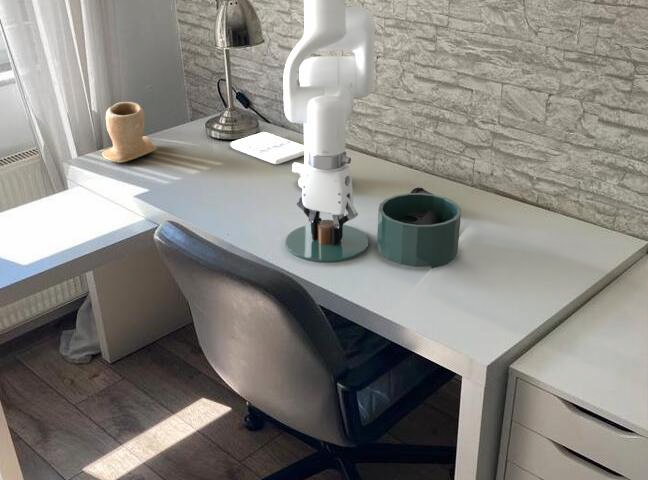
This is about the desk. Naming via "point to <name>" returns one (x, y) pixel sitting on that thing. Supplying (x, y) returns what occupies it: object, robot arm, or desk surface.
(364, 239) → the lid
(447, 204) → the canister
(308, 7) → the robot arm
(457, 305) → the desk surface
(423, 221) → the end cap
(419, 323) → the desk surface
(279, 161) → the white flat block
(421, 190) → the electric trimmer
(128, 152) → the stone cup
